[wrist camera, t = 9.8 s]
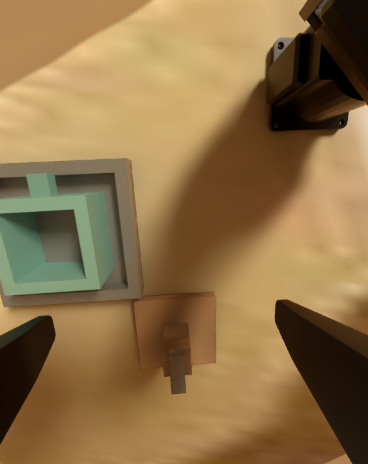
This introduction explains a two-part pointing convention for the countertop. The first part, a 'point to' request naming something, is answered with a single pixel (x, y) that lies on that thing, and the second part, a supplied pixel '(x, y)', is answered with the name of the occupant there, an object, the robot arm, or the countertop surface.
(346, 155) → the countertop surface
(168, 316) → the brown peg stand
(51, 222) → the tray
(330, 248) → the countertop surface
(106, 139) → the countertop surface
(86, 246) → the ring
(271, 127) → the robot arm
